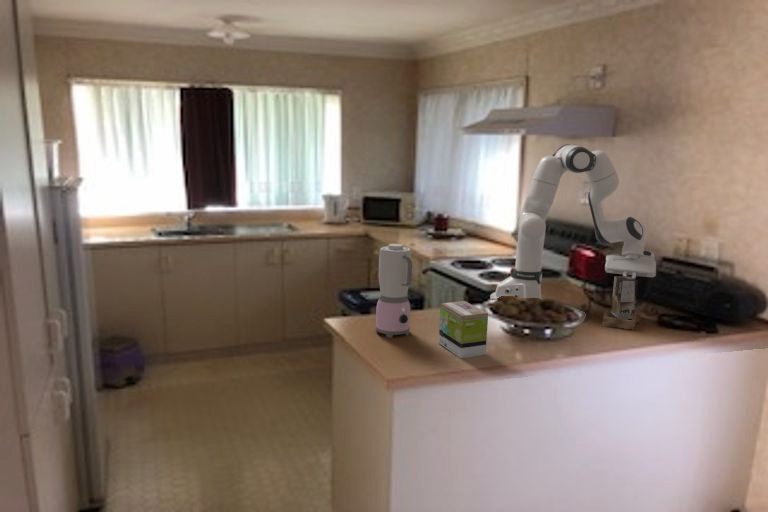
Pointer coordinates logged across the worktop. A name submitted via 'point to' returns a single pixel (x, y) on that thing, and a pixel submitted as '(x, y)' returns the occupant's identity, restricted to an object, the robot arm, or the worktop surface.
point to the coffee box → (624, 297)
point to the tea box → (463, 329)
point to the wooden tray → (619, 321)
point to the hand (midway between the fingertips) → (628, 282)
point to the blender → (394, 290)
